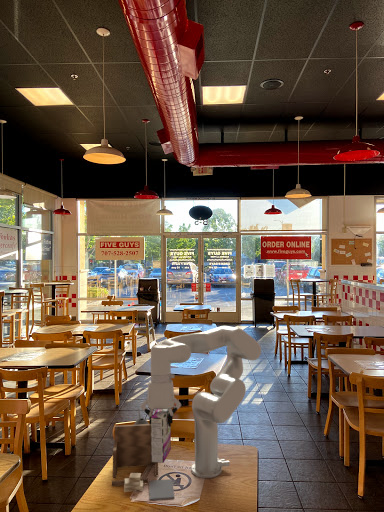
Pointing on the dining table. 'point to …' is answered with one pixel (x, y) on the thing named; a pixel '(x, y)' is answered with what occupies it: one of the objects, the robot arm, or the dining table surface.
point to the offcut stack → (133, 482)
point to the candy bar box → (160, 435)
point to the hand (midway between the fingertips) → (160, 425)
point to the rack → (132, 449)
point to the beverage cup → (140, 420)
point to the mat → (161, 489)
